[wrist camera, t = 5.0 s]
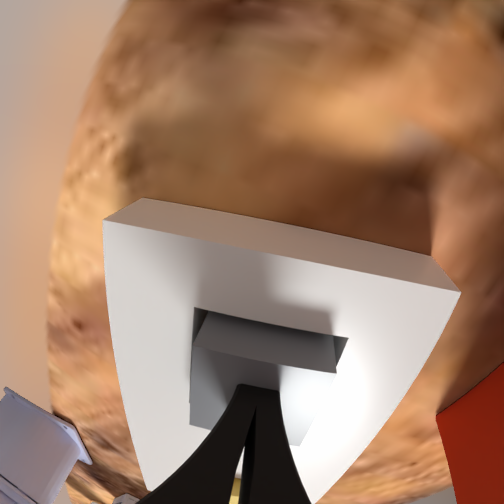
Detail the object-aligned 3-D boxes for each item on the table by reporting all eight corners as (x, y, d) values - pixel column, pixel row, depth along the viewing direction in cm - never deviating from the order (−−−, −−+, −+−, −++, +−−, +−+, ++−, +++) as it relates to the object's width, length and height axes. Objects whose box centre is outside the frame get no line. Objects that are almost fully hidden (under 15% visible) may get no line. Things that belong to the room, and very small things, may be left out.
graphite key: (207, 374, 14) (189, 424, 11) (216, 295, 12) (192, 345, 9) (302, 393, 13) (299, 446, 11) (331, 318, 11) (336, 373, 9)
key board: (158, 462, 21) (147, 489, 18) (142, 197, 12) (102, 219, 9) (298, 491, 20) (296, 520, 18) (431, 256, 11) (461, 292, 9)
